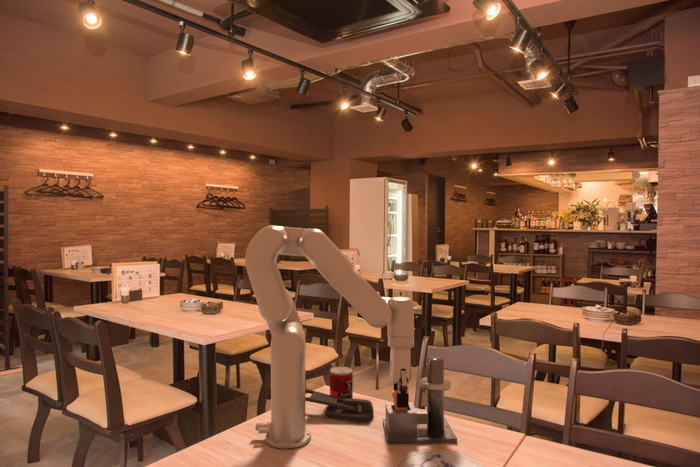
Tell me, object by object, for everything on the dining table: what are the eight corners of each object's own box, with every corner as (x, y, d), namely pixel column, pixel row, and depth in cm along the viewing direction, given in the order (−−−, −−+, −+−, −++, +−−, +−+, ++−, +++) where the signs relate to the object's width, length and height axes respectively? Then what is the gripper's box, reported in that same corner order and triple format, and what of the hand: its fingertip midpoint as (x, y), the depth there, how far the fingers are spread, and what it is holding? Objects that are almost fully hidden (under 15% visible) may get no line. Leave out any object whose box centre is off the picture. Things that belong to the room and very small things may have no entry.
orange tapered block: (394, 430, 132) (393, 393, 132) (392, 426, 135) (392, 390, 135) (409, 429, 132) (408, 393, 132) (407, 425, 135) (407, 389, 135)
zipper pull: (300, 386, 153) (375, 392, 148) (301, 406, 153) (375, 412, 148) (291, 396, 144) (370, 402, 139) (291, 417, 144) (370, 424, 139)
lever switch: (387, 444, 126) (387, 366, 126) (382, 422, 140) (382, 352, 140) (457, 443, 127) (457, 365, 126) (445, 421, 141) (445, 352, 140)
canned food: (340, 408, 151) (340, 375, 151) (325, 401, 157) (325, 369, 157) (357, 402, 156) (357, 370, 156) (341, 396, 162) (341, 365, 162)
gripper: (384, 333, 141) (384, 391, 142) (391, 348, 124) (391, 414, 124) (409, 333, 142) (409, 391, 142) (419, 348, 124) (419, 414, 124)
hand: (400, 401), depth 133 cm, fingers open, 7 cm apart
